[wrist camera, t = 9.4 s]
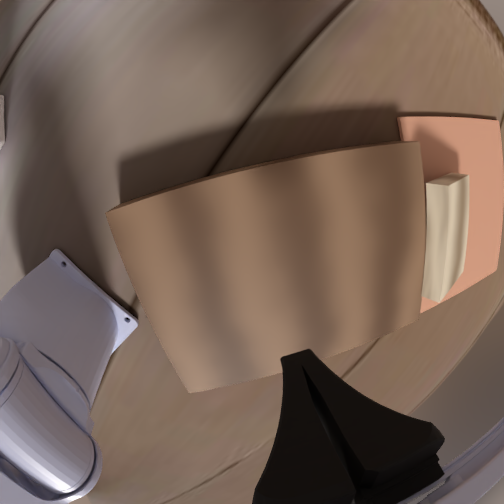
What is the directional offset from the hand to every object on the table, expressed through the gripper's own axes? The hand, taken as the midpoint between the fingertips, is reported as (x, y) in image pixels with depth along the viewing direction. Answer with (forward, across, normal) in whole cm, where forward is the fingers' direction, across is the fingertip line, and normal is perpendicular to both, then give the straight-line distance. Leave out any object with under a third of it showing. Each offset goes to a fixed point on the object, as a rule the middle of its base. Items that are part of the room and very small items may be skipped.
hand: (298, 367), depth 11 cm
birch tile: (+9, -17, 0) cm, 19 cm away
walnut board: (+10, -2, 0) cm, 11 cm away
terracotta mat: (+10, -23, 0) cm, 25 cm away
